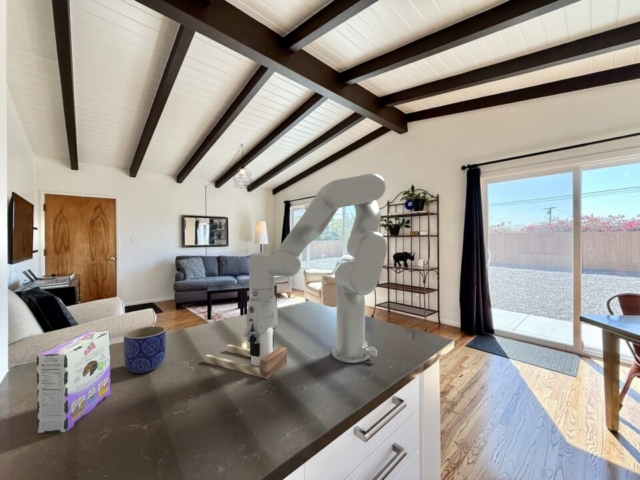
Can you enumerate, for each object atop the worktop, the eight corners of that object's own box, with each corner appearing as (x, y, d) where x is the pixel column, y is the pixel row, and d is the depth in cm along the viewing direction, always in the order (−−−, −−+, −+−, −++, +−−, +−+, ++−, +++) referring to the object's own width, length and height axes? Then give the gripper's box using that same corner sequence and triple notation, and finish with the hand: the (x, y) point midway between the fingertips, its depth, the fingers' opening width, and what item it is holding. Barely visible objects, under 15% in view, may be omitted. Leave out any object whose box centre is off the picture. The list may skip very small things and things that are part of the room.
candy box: (87, 395, 70) (86, 330, 70) (112, 394, 71) (111, 330, 71) (35, 434, 57) (34, 353, 56) (66, 432, 57) (65, 353, 57)
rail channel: (286, 363, 88) (286, 347, 88) (266, 378, 79) (266, 361, 78) (228, 349, 98) (228, 335, 98) (205, 361, 89) (205, 346, 89)
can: (270, 367, 82) (270, 327, 82) (248, 367, 83) (248, 327, 82) (274, 358, 89) (274, 320, 89) (254, 357, 89) (254, 320, 89)
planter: (174, 362, 89) (174, 327, 88) (144, 379, 78) (143, 340, 78) (147, 358, 92) (146, 324, 91) (114, 374, 81) (114, 336, 81)
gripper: (253, 300, 76) (253, 365, 76) (287, 289, 92) (287, 343, 92) (232, 297, 79) (232, 360, 80) (268, 287, 95) (268, 339, 95)
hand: (262, 350), depth 86 cm, fingers closed on can, 6 cm apart
